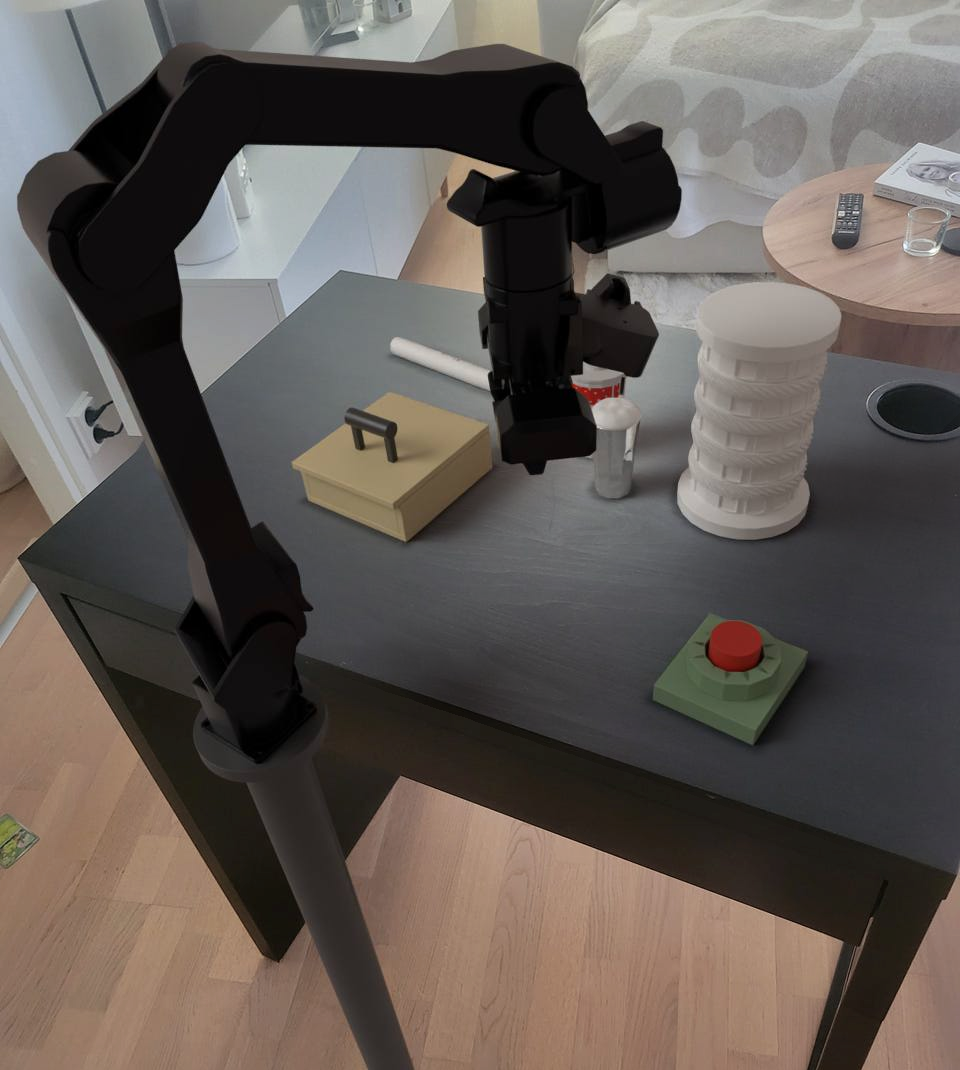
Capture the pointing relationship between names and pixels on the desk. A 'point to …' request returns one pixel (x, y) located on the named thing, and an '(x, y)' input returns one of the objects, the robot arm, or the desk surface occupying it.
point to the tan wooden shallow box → (415, 507)
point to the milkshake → (615, 444)
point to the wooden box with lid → (390, 448)
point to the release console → (729, 684)
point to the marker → (441, 362)
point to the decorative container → (755, 407)
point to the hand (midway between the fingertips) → (536, 472)
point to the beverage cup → (597, 384)
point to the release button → (735, 646)
